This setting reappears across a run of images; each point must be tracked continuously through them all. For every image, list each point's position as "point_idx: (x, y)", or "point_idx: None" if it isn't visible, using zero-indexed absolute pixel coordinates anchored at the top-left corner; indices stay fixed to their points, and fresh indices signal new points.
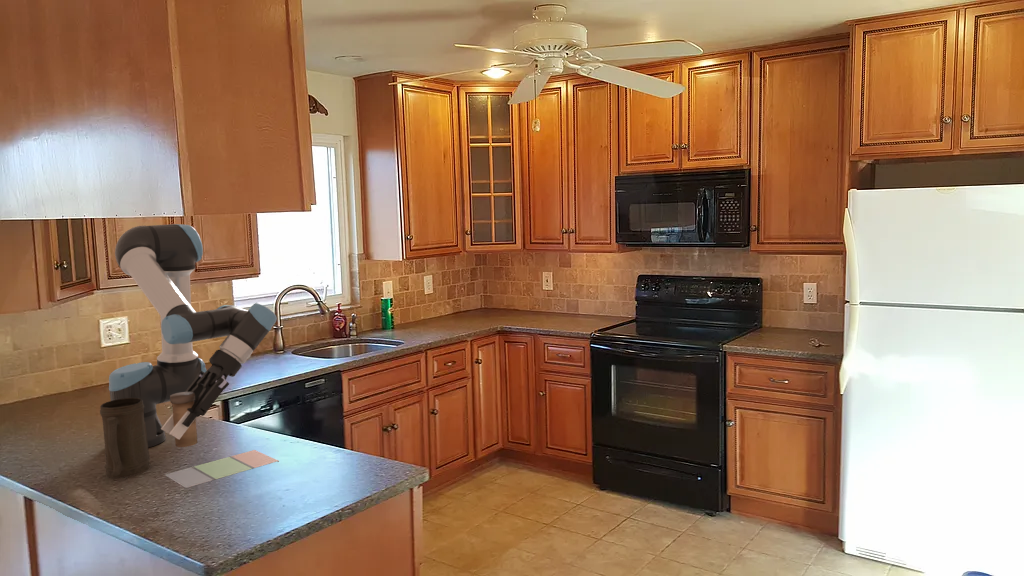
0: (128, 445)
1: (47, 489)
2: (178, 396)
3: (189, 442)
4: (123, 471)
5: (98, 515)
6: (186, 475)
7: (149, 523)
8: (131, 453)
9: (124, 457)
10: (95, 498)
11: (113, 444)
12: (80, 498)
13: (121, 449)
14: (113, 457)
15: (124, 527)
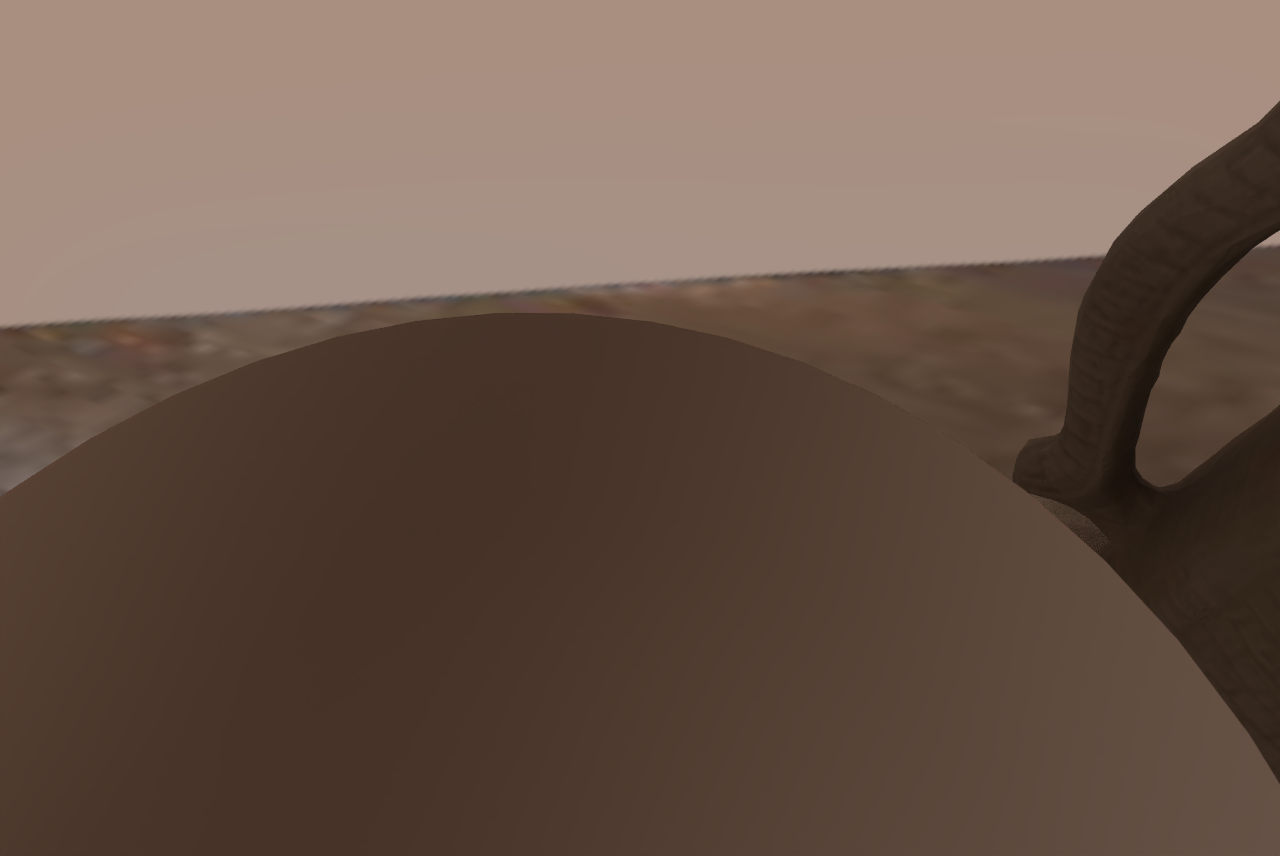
0: (1257, 503)
1: (1274, 270)
2: (289, 613)
3: None
4: (1113, 553)
5: (559, 296)
6: None
7: (145, 406)
8: (1200, 563)
9: (1185, 517)
10: (873, 371)
11: (1102, 278)
12: (946, 324)
13: (1245, 462)
14: (1070, 368)
15: (243, 313)
